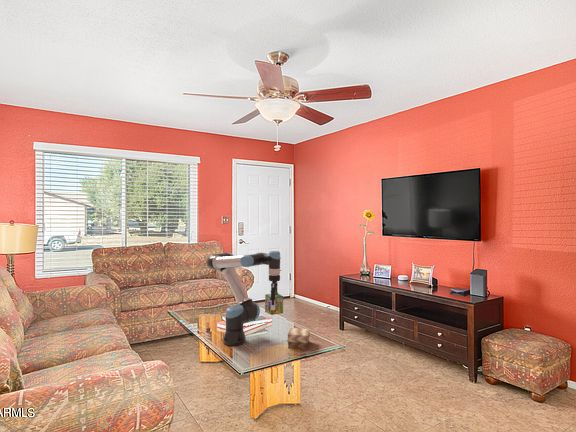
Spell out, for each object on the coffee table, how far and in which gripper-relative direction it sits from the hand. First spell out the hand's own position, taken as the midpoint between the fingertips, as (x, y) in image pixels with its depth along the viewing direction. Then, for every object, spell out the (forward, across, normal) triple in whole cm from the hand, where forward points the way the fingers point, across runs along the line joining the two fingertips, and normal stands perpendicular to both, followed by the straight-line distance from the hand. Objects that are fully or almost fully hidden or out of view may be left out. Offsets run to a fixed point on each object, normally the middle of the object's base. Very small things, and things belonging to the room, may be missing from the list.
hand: (274, 307), depth 233 cm
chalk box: (+4, 0, 0) cm, 4 cm away
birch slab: (+20, 0, -17) cm, 26 cm away
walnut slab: (+25, 0, -16) cm, 30 cm away
